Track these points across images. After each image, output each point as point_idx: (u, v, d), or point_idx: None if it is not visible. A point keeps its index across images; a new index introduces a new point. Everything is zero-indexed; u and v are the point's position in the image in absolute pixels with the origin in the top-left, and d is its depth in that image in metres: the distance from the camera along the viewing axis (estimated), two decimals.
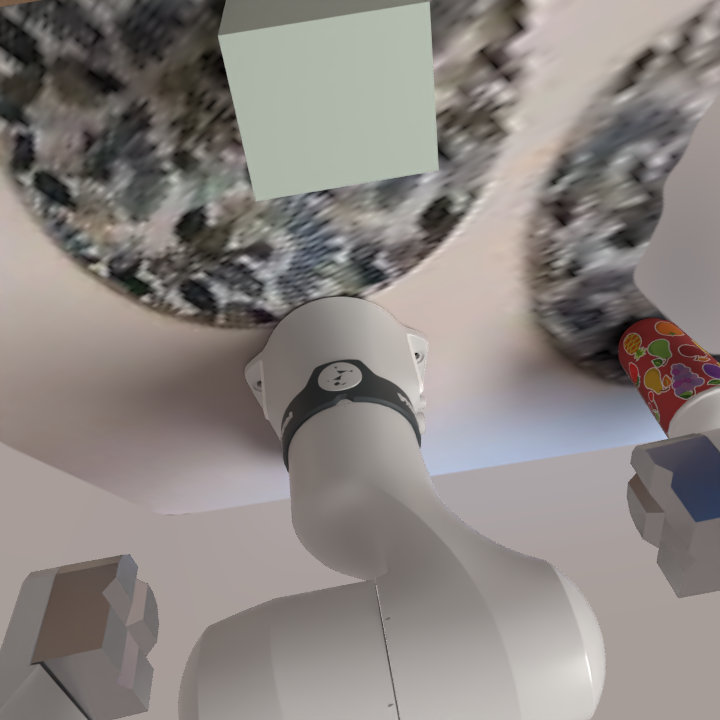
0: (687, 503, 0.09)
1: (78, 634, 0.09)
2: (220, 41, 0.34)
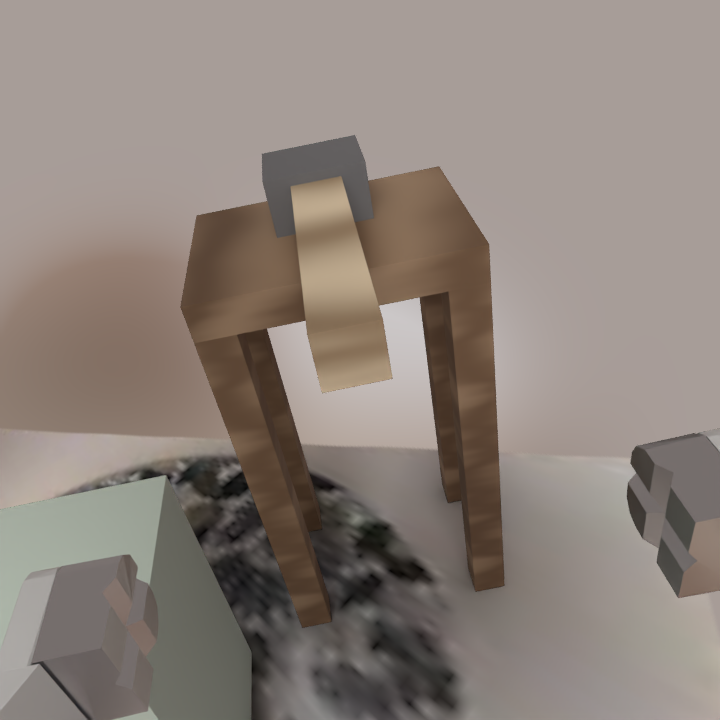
0: (687, 503, 0.09)
1: (78, 634, 0.09)
2: (160, 477, 0.34)
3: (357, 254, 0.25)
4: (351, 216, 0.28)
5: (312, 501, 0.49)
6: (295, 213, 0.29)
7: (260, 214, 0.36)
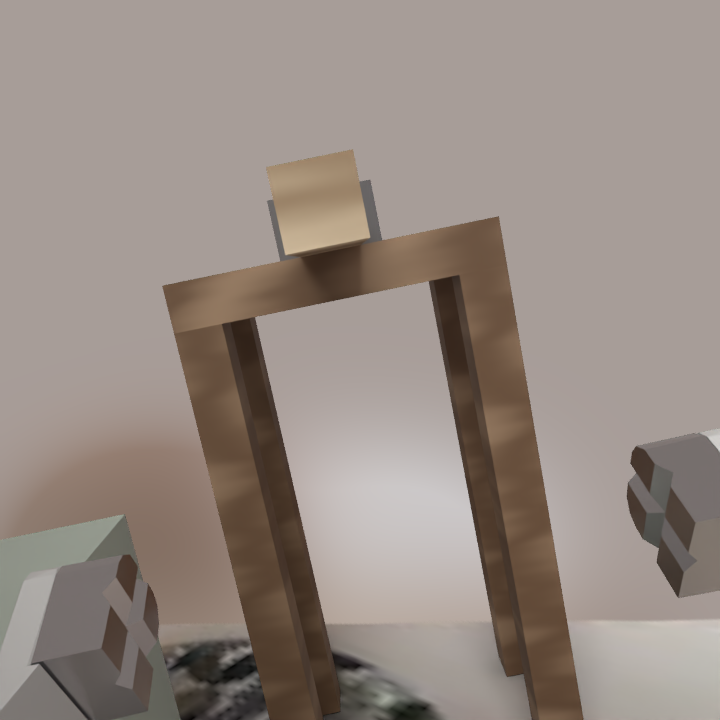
0: (687, 503, 0.09)
1: (78, 634, 0.09)
2: (117, 516, 0.27)
3: None
4: None
5: (327, 662, 0.38)
6: None
7: None
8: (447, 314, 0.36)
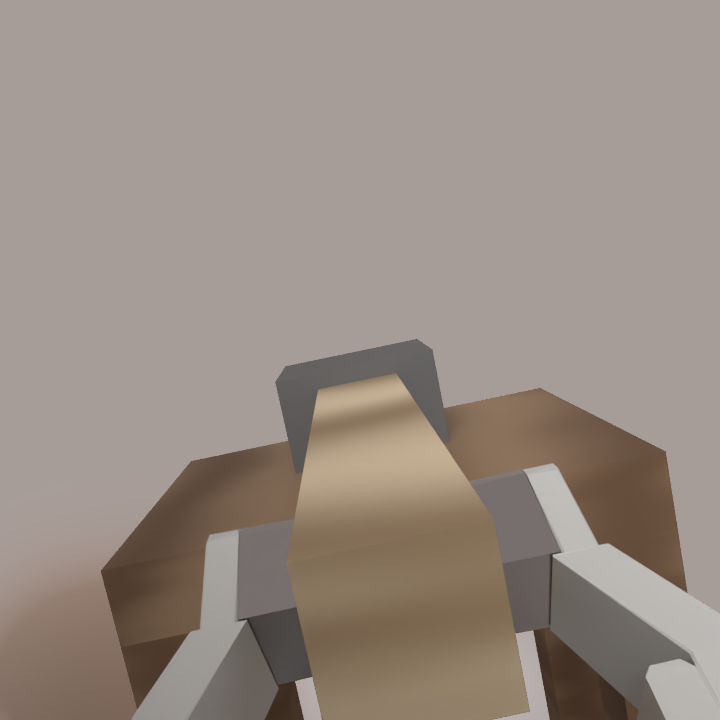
0: None
1: (279, 592, 0.09)
2: None
3: (421, 433, 0.13)
4: (411, 399, 0.16)
5: None
6: (317, 408, 0.17)
7: (279, 452, 0.24)
8: None
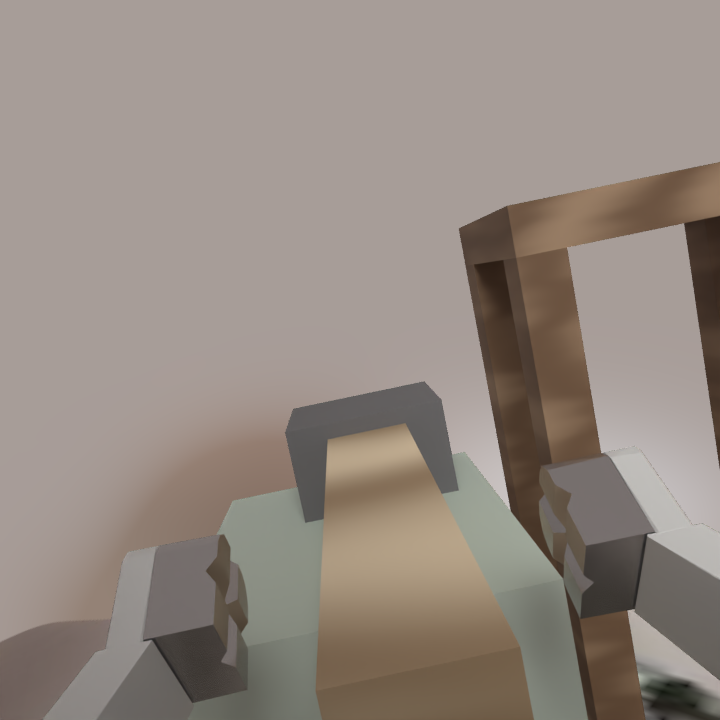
0: (580, 525, 0.09)
1: (187, 611, 0.09)
2: (457, 454, 0.25)
3: (438, 514, 0.13)
4: (423, 463, 0.16)
5: None
6: (329, 467, 0.18)
7: None
8: (718, 261, 0.34)
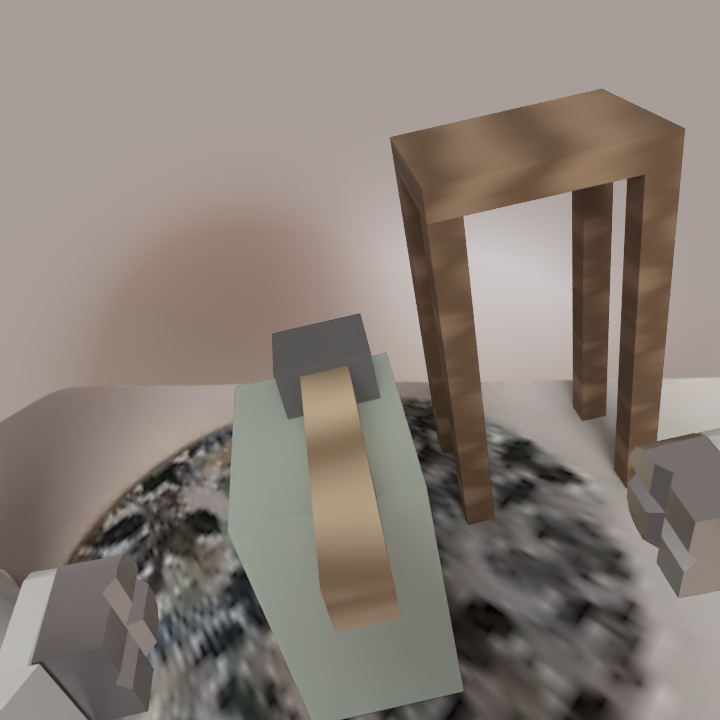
0: (687, 503, 0.09)
1: (78, 634, 0.09)
2: (381, 354, 0.38)
3: (365, 479, 0.27)
4: (358, 424, 0.30)
5: None
6: (305, 416, 0.31)
7: (451, 131, 0.41)
8: None
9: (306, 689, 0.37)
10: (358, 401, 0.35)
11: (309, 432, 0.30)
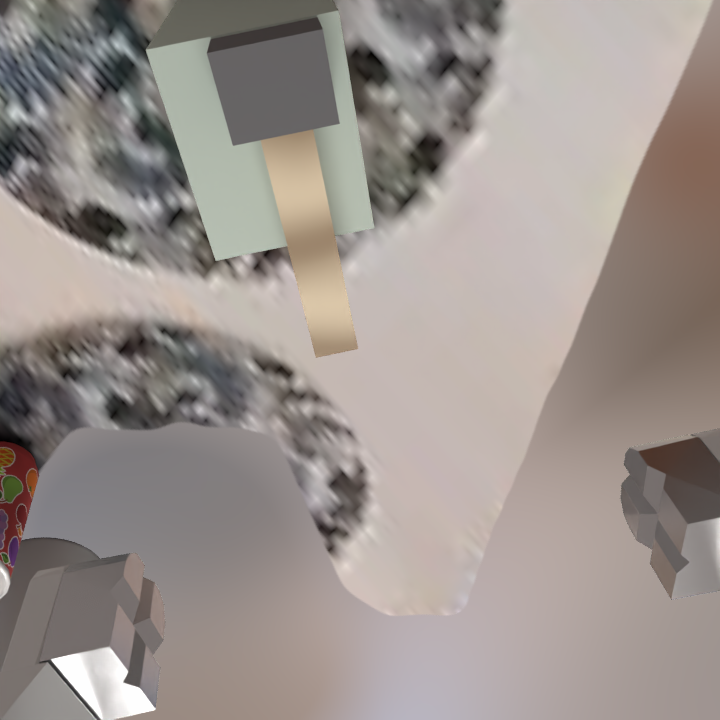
0: (679, 505, 0.09)
1: (86, 633, 0.09)
2: (332, 13, 0.30)
3: (339, 279, 0.36)
4: (330, 220, 0.34)
5: None
6: (277, 202, 0.33)
7: None
8: None
9: None
10: None
11: (285, 224, 0.33)
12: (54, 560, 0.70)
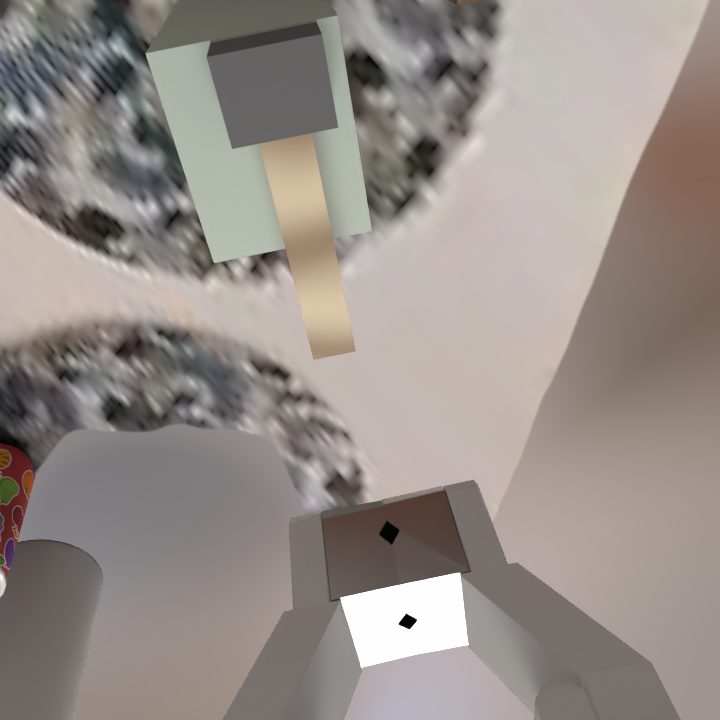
0: (400, 564, 0.09)
1: (370, 573, 0.09)
2: (331, 17, 0.31)
3: (337, 281, 0.36)
4: (328, 223, 0.34)
5: None
6: (276, 204, 0.33)
7: None
8: None
9: None
10: None
11: (284, 227, 0.34)
12: (50, 562, 0.70)
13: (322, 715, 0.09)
